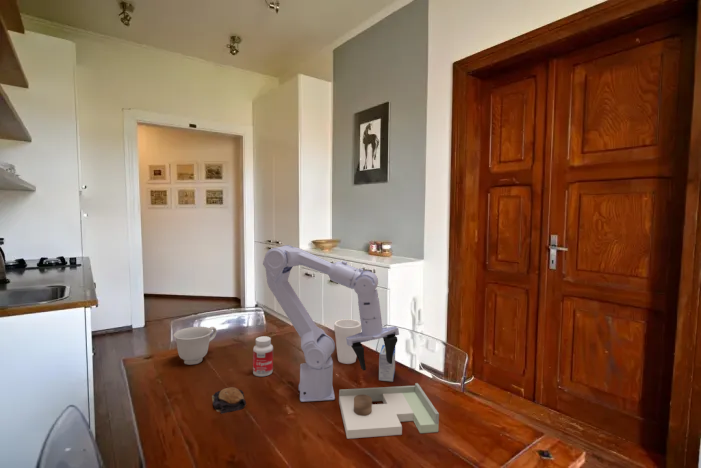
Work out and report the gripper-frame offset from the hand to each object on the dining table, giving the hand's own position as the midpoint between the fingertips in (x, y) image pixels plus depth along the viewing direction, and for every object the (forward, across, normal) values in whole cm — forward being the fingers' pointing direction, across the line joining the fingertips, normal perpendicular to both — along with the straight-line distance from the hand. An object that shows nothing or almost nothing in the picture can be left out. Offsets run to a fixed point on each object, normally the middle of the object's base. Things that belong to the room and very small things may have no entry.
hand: (376, 365), depth 97 cm
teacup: (+1, -51, +41) cm, 65 cm away
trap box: (+11, -1, -6) cm, 13 cm away
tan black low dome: (+5, -40, +11) cm, 41 cm away
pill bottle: (+5, -30, +26) cm, 40 cm away
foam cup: (+8, -1, +29) cm, 30 cm away
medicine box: (+10, +8, +14) cm, 19 cm away
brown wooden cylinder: (+8, -7, -6) cm, 12 cm away
